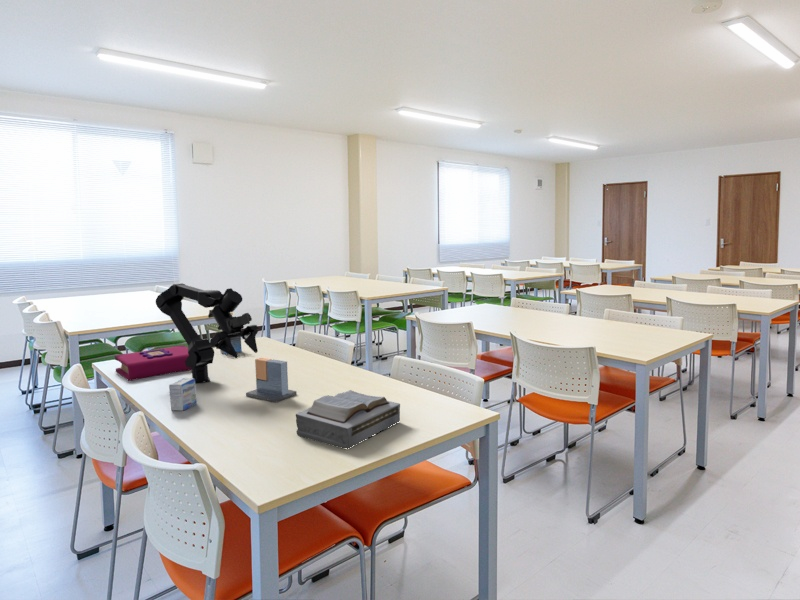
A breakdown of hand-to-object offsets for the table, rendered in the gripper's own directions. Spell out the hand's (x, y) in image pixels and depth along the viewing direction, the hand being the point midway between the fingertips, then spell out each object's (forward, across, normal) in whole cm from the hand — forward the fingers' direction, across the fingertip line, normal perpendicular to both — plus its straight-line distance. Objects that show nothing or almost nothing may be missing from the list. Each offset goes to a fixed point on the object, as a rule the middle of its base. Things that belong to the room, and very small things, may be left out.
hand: (247, 354), depth 192 cm
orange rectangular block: (+11, 0, -1) cm, 11 cm away
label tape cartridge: (-25, +40, +49) cm, 68 cm away
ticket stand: (+17, 0, 0) cm, 17 cm away
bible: (+46, -13, -31) cm, 57 cm away
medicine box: (+7, -23, +13) cm, 27 cm away
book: (-26, +3, +51) cm, 57 cm away
